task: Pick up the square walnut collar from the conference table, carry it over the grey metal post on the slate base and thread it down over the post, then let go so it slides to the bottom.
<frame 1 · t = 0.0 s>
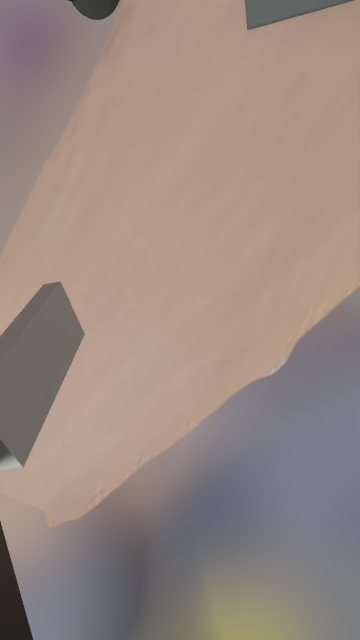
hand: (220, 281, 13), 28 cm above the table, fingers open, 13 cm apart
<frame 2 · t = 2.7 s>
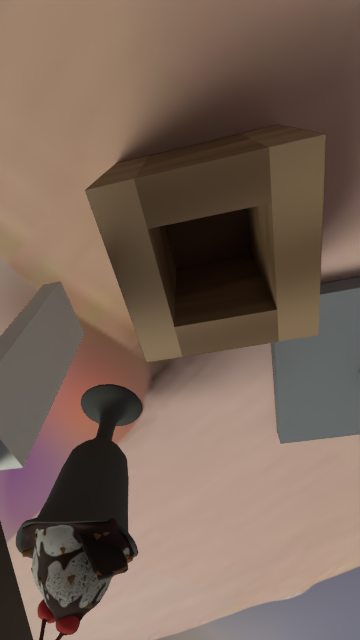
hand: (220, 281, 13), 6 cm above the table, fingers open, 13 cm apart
collar: (207, 225, 18), on the table
sundae: (112, 403, 26), on the table
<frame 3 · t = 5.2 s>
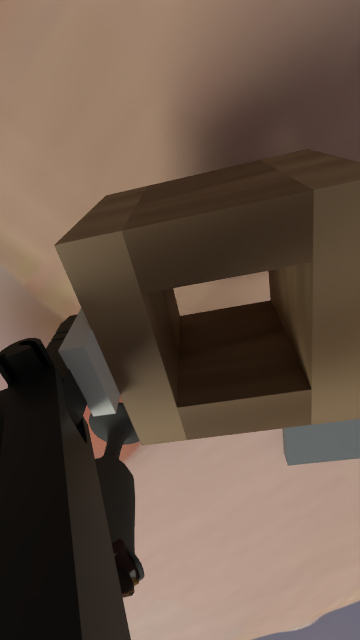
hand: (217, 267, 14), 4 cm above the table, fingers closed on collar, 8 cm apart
collar: (217, 266, 15), point 4 cm above the table, touching gripper
sundae: (120, 421, 26), on the table
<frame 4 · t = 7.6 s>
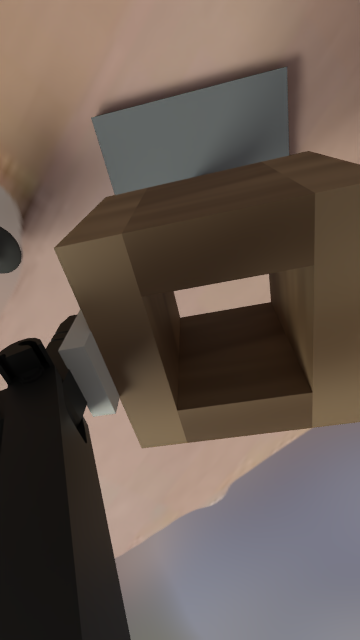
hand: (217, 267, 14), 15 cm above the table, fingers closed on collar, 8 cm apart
collar: (218, 268, 14), point 15 cm above the table, touching gripper
post stand: (201, 192, 27), on the table
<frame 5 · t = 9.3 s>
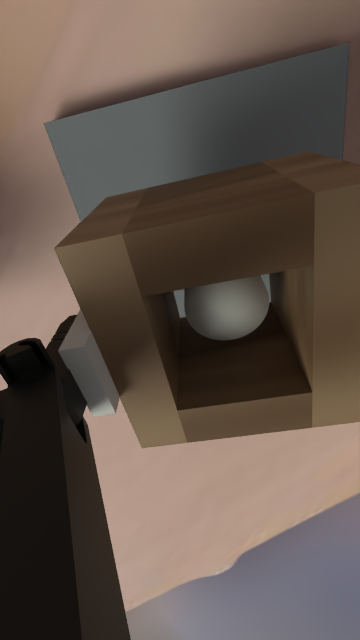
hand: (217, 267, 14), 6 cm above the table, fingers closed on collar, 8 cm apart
collar: (218, 268, 14), point 6 cm above the table, touching gripper
post stand: (210, 228, 19), on the table
when the fingers open (6 cm above the table, at t = 10.3 s): collar drops 4 cm, resting on post stand.
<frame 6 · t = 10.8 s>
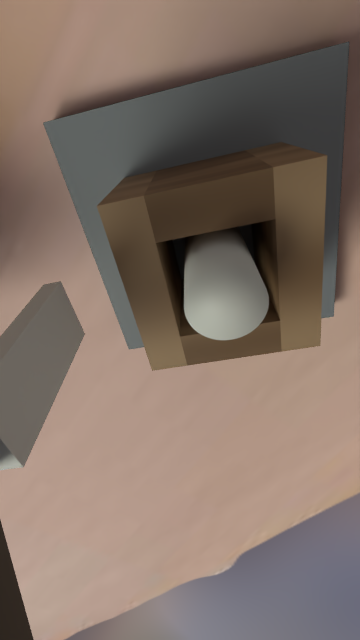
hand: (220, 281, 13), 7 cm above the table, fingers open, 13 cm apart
collar: (212, 237, 18), point 1 cm above the table, touching post stand
post stand: (209, 228, 19), on the table
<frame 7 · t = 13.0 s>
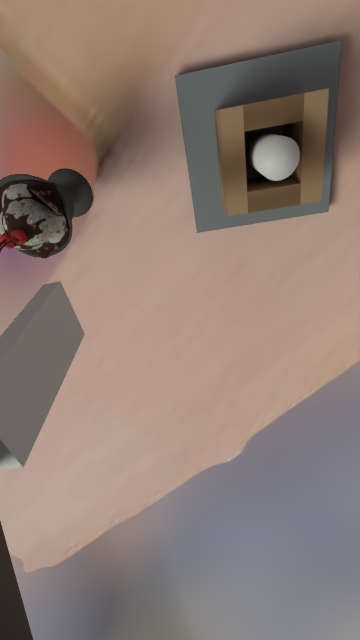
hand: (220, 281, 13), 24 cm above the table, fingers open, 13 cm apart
collar: (259, 151, 31), point 1 cm above the table, touching post stand
post stand: (256, 149, 32), on the table
sundae: (70, 193, 35), on the table
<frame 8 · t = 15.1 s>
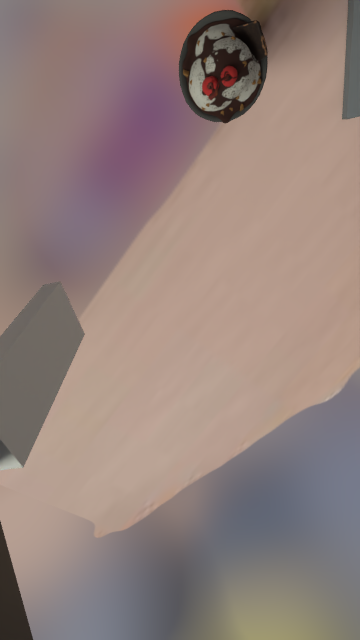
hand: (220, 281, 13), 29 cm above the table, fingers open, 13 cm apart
sundae: (212, 82, 33), on the table
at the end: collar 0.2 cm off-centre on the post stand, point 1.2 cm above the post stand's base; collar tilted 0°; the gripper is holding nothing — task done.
